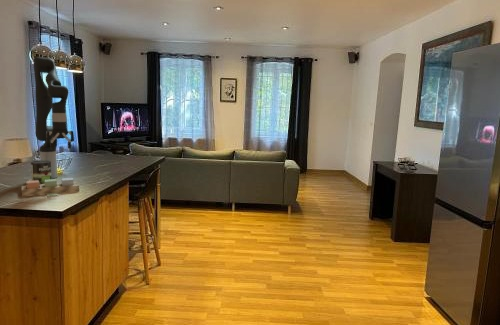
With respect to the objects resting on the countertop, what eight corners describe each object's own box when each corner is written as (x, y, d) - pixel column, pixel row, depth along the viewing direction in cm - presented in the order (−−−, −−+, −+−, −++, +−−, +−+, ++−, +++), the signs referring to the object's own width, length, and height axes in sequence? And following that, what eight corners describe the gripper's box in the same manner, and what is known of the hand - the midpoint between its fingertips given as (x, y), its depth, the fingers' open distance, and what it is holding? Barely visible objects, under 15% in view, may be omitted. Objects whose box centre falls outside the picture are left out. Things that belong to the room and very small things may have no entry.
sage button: (45, 189, 198) (44, 181, 198) (44, 186, 203) (44, 179, 202) (56, 188, 201) (56, 180, 200) (56, 185, 206) (55, 178, 205)
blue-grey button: (62, 187, 203) (62, 180, 202) (61, 185, 207) (61, 178, 207) (73, 186, 205) (73, 179, 205) (72, 184, 210) (72, 177, 209)
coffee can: (55, 185, 218) (54, 161, 216) (38, 188, 210) (36, 163, 207) (46, 182, 224) (44, 159, 221) (28, 185, 215) (26, 161, 213)
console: (22, 196, 191) (21, 190, 190) (22, 192, 200) (21, 185, 199) (79, 191, 205) (79, 185, 204) (76, 187, 214) (76, 181, 213)
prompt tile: (47, 197, 192) (47, 195, 192) (46, 194, 196) (46, 193, 196) (57, 196, 194) (57, 194, 194) (57, 193, 199) (57, 192, 199)
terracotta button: (27, 190, 194) (26, 183, 193) (27, 188, 199) (26, 181, 198) (39, 189, 197) (38, 182, 196) (38, 187, 201) (38, 180, 201)
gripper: (71, 120, 218) (72, 147, 220) (44, 120, 209) (45, 148, 212) (74, 121, 212) (75, 149, 214) (46, 121, 203) (48, 150, 206)
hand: (60, 148), depth 213 cm, fingers open, 8 cm apart
